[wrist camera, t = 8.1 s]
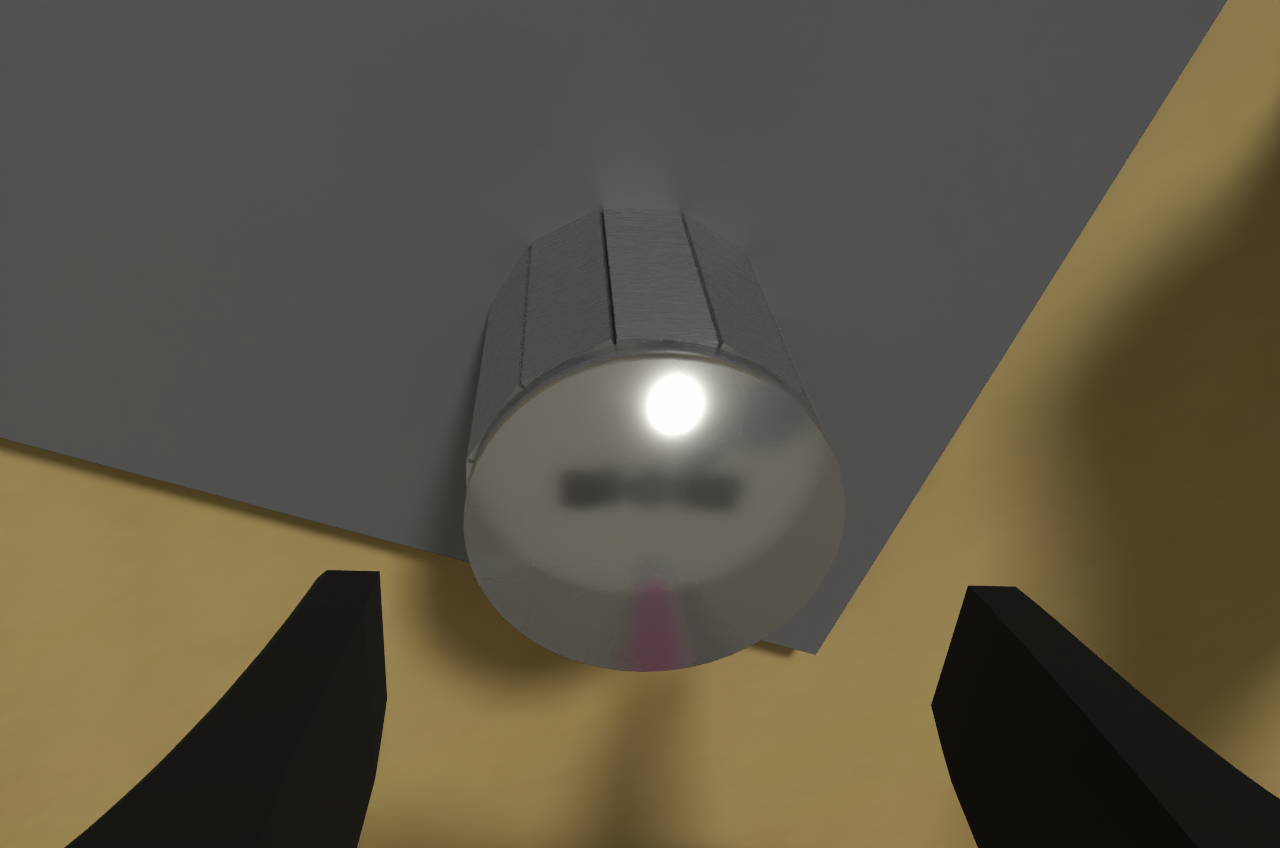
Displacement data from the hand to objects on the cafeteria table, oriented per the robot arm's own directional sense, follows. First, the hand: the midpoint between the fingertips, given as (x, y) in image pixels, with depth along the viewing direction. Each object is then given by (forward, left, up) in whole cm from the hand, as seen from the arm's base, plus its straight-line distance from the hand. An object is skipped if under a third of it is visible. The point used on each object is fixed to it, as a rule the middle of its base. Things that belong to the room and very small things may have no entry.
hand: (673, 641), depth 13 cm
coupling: (0, 0, -8) cm, 8 cm away
